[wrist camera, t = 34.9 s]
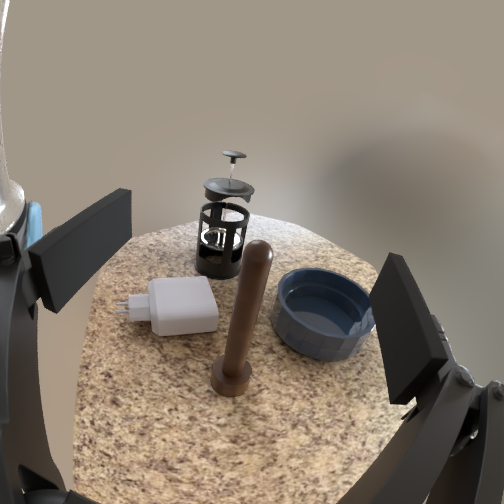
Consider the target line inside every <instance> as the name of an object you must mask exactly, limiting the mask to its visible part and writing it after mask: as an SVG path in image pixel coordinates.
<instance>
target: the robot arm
mask: <svg viewBox="0 0 504 504" xmlns="http://www.w3.org/2000/svg"><path fill="white" fill-rule="evenodd" d="M9 1H10V0H0V74H1V57H2V45H3V36H4V29H5V22H6V15H7V11H8V5H9ZM131 238H132V223H131V190H127V189H121V188H119V189H117V190H115V191H114V192H112V193H110V194H109V195H107V196H105V197H104V198H102V199H101V200H99V201H98V202H96V203H94V204H93V205H91V206H90V207H88V208H86V209H85V210H83V211H82V212H80V213H79V214H77V215H76V216H74V217H73V218H72V219H70V220H68V221H67V222H65V223H64V224H63V225H61V226H58V227H56V228H54V229H52V230H51V231H50V232H48V233H47V235H44V236H43V231H42V213H41V208H40V204H38V203H37V202H32V201H31V202H29V203H27V204H26V201H25V195H24V192H23V189H22V187H21V186H20V185H19V184H18V183H17V182H15V181H13V180H10V179H9V176H8V171H7V165H6V158H5V151H4V144H3V133H2V121H1V101H0V504H100V503H98V502H96V501H94V500H91V499H89V498H87V497H85V496H83V495H81V494H79V493H76V492H74V491H72V490H70V491H69V492H67V491H66V488H65V485H64V482H63V479H62V476H61V474H60V472H59V470H58V468H57V467H56V465H55V463H54V462H53V460H52V457H51V454H50V450H49V445H48V441H47V435H46V430H45V424H44V418H43V411H42V404H41V396H40V385H39V373H38V352H37V320H38V306H37V303H36V301H37V300H38V299H39V298H40V297H41V299H42V302H43V305H44V307H45V308H46V309H48V310H50V311H52V312H54V313H56V314H57V313H58V312H59V311H60V310H61V309H62V307H64V306H65V304H66V303H67V302H68V301H69V300H70V299H71V298H72V297H73V296H74V295H75V294H76V292H77V291H78V290H79V289H80V288H81V287H82V286H83V285H84V284H85V283H86V282H87V281H88V280H89V279H90V278H91V277H92V276H93V275H94V274H95V273H96V272H97V271H98V270H99V269H100V268H101V267H102V266H103V265H104V264H105V263H106V262H107V261H108V260H109V259H110V258H111V257H112V256H113V255H114V254H115V253H116V252H117V251H118V250H119V249H120V248H121V247H122V246H123V245H124V244H125V243H126V242H128V241H129V240H130V239H131ZM369 300H370V304H371V308H372V312H373V317H374V321H375V325H376V330H377V334H378V339H379V344H380V348H381V353H382V359H383V364H384V369H385V375H386V381H387V387H388V393H389V400H390V404H397V405H407V404H408V403H409V402H410V401H411V400H412V399H413V398H414V397H416V402H417V404H416V405H415V406H414V407H413V408H412V409H411V410H410V411H409V412H408V413H406V414H405V415H404V416H403V417H402V418H401V419H402V420H404V419H405V420H404V421H403V423H402V424H401V426H400V427H399V429H398V430H397V432H396V433H395V435H394V436H393V437H392V439H391V440H390V442H389V443H388V444H387V446H386V447H385V448H384V450H383V451H382V452H381V453H380V455H379V456H378V457H377V459H376V460H375V461H374V462H373V464H372V465H371V466H370V467H369V468H368V470H367V471H366V472H365V473H364V474H363V475H362V477H361V478H360V479H359V480H358V481H357V482H356V483H355V484H354V486H353V487H352V488H351V489H350V490H349V491H348V492H347V493H346V494H345V495H344V496H343V497H342V498H341V499H340V500H339V501H338V502H337V503H336V504H422V503H423V502H424V500H425V499H426V497H427V496H428V494H429V496H428V499H427V502H426V504H501V501H502V495H503V490H504V385H503V384H501V383H500V382H499V381H496V380H493V381H491V382H490V383H489V384H488V385H487V386H486V387H485V388H484V387H482V386H479V385H476V384H475V381H474V378H473V376H472V374H471V373H470V372H469V371H468V370H467V369H466V368H465V367H463V366H459V365H457V362H456V359H455V357H454V354H453V352H452V349H451V347H450V344H449V342H447V341H448V339H447V337H446V335H445V334H444V333H445V332H444V330H443V327H442V325H441V323H440V322H439V321H438V320H437V318H436V317H435V316H434V315H431V314H430V312H429V309H428V307H427V305H426V303H425V300H424V298H423V296H422V294H421V292H420V290H419V288H418V286H417V284H416V282H415V280H414V278H413V276H412V274H411V272H410V270H409V268H408V266H407V264H406V262H405V260H404V258H403V257H402V256H401V255H397V254H393V253H389V255H388V257H387V259H386V261H385V263H384V266H383V268H382V270H381V272H380V274H379V276H378V278H377V280H376V282H375V284H374V286H373V288H372V290H371V292H370V294H369ZM477 430H478V433H477V436H476V437H475V438H474V432H475V431H477ZM22 489H23V491H24V492H25V493H24V494H23V492H22ZM429 492H430V493H429Z"/></svg>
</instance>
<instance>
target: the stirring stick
mask: <svg viewBox="0 0 504 504" xmlns="http://www.w3.org/2000/svg"><path fill="white" fill-rule="evenodd" d="M272 260H273V250H272V248H271V246H270V245H269V244H268V243H267V242H265V241H263V240H253V241H251V242H250V243H248V244H247V245H246V247H245V249H244V252H243V257H242V263H241V268H240V273H239V278H238V284H237V289H236V294H235V300H234V305H233V311H232V316H231V321H230V327H229V332H228V338H227V343H226V348H225V354H224V355H222V356H220V357H218V358H217V359H216V360H215V361H214V363H213V366H212V373H211V385H212V387H213V389H214V390H215V391H216V392H217V393H219V394H220V395H223V396H226V397H236V396H239V395H241V394H243V393H244V392H245V391H246V389H247V387H248V384H249V381H250V378H251V375H252V368H251V366H250V364H249V362H248V361H247V360H246V357H247V354H248V350H249V346H250V343H251V339H252V336H253V332H254V328H255V324H256V321H257V317H258V313H259V310H260V306H261V302H262V298H263V294H264V291H265V287H266V283H267V279H268V275H269V271H270V268H271V264H272Z"/></svg>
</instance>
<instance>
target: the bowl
mask: <svg viewBox="0 0 504 504" xmlns="http://www.w3.org/2000/svg"><path fill="white" fill-rule="evenodd" d="M270 318H271V321H272V324H273V327H274V330H275V331H276V332H277V334H278V335H279V336H280V338H281V339H282V340H283V341H284V342H285V343H286V344H287V345H289V346H290V347H291V348H293V349H294V350H296V351H297V352H299V353H301V354H304V355H306V356H309V357H311V358H314V359H318V360H326V361H337V360H343V359H347V358H349V357H351V356H353V355H355V354H356V353H358V352H359V351H360V349H361V348H362V346H363V345H364V344H365V342H366V340H367V339H368V337H369V336H370V334H371V332H372V331H373V329H374V327H375V326H376V325H375V321H374V317H373V312H372V308H371V304H370V300H369V294H368V292H367V291H366V290H365V289H363V288H362V287H361V286H360V285H359V284H358V283H356V282H354V281H353V280H351V279H349V278H348V277H346V276H344V275H341V274H338V273H336V272H333V271H330V270H325V269H321V268H300V269H295V270H292V271H290V272H289V273H287V274H285V275H284V276H283V277H282V278H281V280H280V281H279V283H278V285H277V289H276V292H275V296H274V299H273V303H272V306H271V314H270Z"/></svg>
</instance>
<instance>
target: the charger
mask: <svg viewBox="0 0 504 504" xmlns="http://www.w3.org/2000/svg"><path fill="white" fill-rule="evenodd" d="M116 305H117V306H118V305H129V310H116V313H129V318H130V322H131V321H150V320H151V326H152V332H154V333H155V334H157V335H158V336H170V335H182V334H193V333H203V332H212V331H217V326H218V319H219V311H218V307H217V304H216V301H215V298H214V295H213V293H212V290H211V287H210V284H209V281H208V279H207V277H206V276H198V277H179V278H158V279H152V280H151V281H150V282H149V283H148V294H136V295H129V302H117V303H116Z"/></svg>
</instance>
